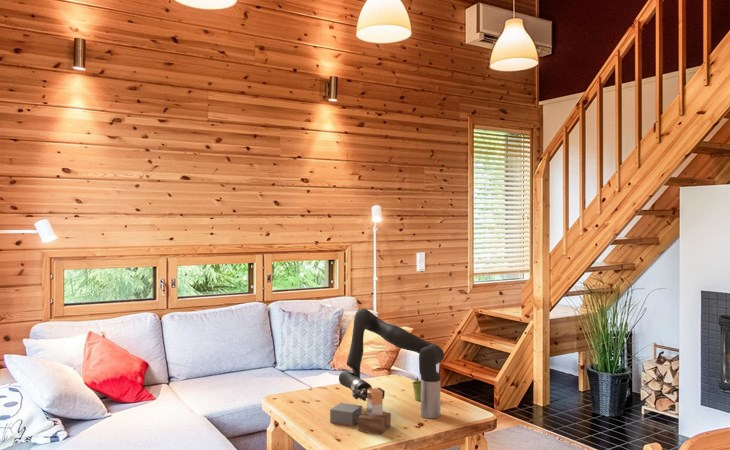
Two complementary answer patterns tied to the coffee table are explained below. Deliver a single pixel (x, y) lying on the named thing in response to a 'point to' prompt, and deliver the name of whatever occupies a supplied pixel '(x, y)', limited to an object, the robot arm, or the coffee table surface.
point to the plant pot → (417, 390)
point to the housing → (374, 402)
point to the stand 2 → (374, 423)
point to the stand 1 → (345, 414)
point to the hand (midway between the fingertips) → (374, 397)
